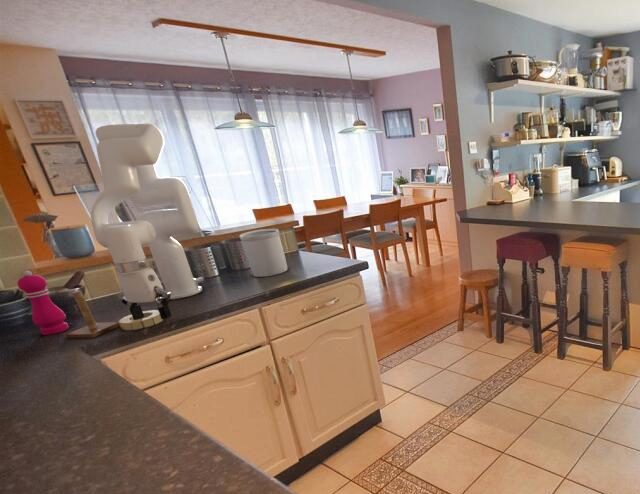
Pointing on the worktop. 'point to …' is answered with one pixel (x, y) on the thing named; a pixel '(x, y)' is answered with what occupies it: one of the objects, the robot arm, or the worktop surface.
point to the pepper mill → (42, 305)
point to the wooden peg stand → (89, 321)
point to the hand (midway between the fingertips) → (153, 318)
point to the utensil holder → (264, 252)
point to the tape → (141, 320)
